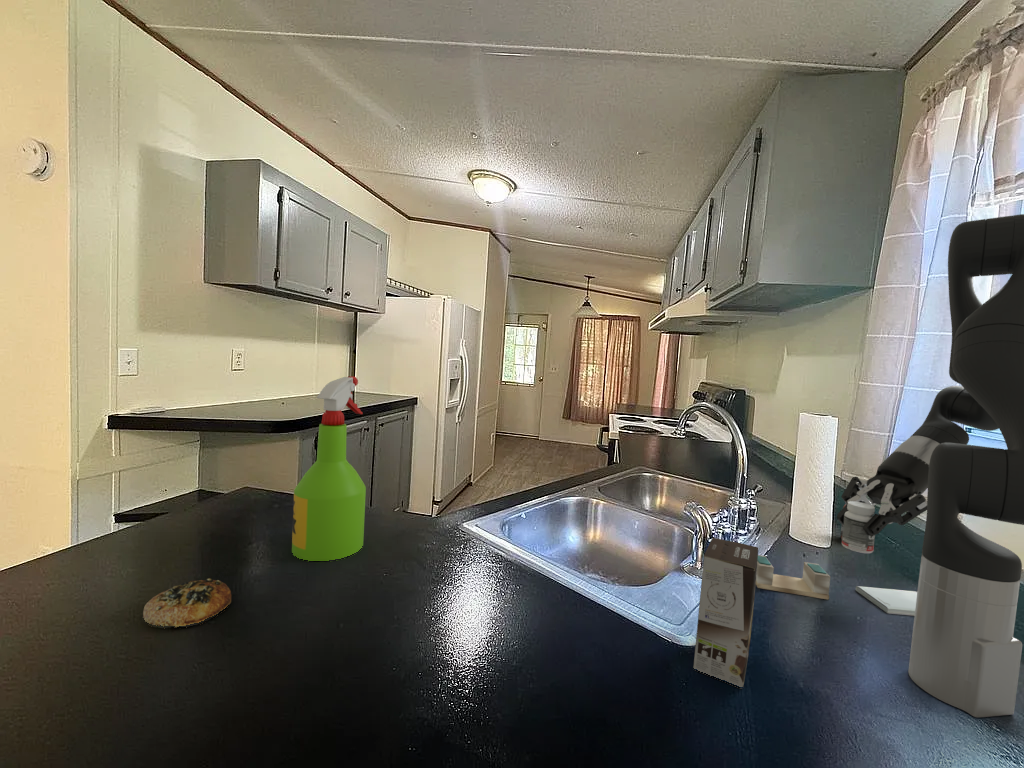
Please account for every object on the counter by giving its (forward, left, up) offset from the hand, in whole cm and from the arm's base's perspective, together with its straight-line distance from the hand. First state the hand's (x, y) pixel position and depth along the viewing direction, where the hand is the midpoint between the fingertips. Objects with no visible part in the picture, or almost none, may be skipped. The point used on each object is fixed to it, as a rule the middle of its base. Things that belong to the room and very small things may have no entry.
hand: (853, 526), depth 84 cm
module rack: (+5, +8, -14) cm, 17 cm away
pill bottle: (0, -1, -4) cm, 5 cm away
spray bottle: (+27, +97, -14) cm, 102 cm away
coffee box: (-15, +36, -14) cm, 41 cm away
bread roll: (+3, +113, -14) cm, 114 cm away
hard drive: (-2, -10, -15) cm, 18 cm away
